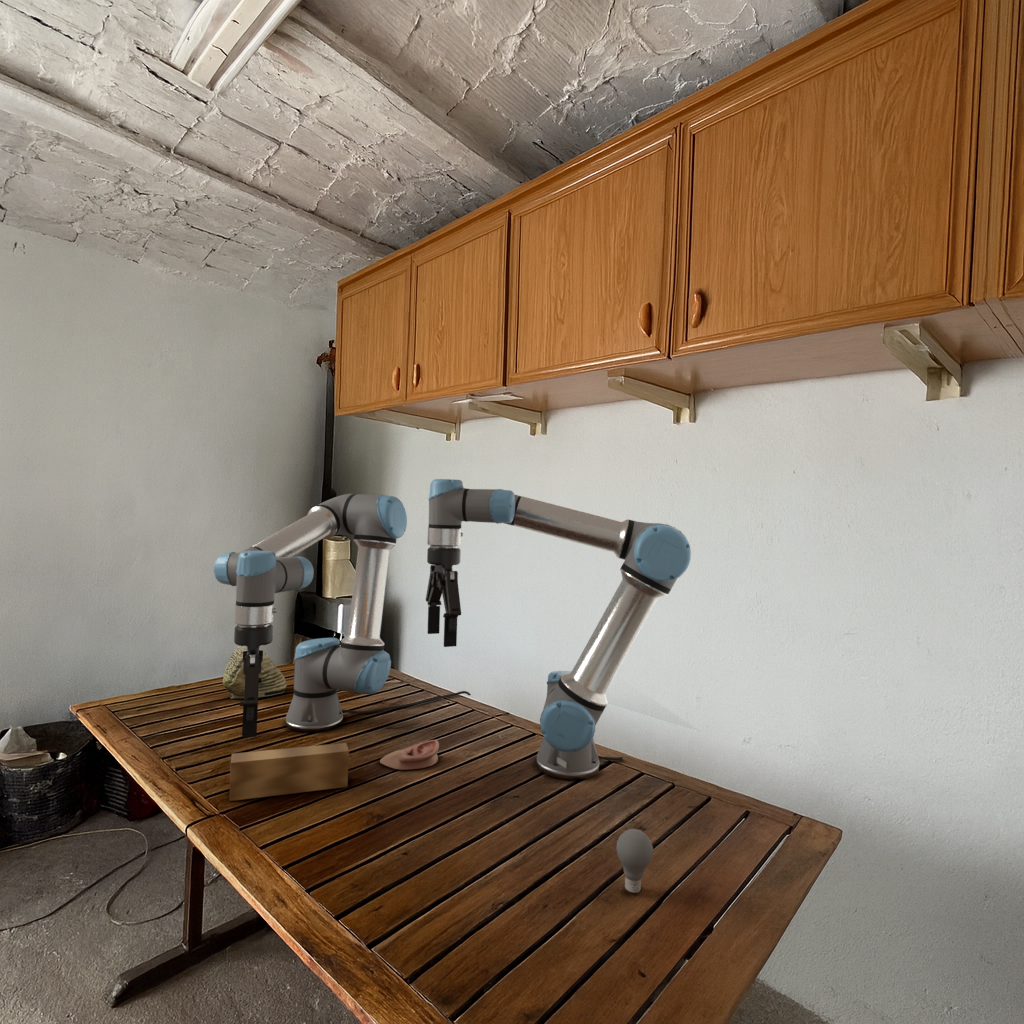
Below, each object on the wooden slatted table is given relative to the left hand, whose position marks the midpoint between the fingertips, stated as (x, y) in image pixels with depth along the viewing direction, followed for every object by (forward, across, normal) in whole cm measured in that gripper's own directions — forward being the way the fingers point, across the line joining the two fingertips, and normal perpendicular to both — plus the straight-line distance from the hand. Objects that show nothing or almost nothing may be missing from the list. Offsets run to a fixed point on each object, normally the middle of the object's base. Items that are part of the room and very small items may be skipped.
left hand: (250, 725), depth 133 cm
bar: (+15, 0, -8) cm, 17 cm away
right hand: (-17, -3, -40) cm, 44 cm away
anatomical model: (+14, +8, -36) cm, 40 cm away
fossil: (+14, +69, 0) cm, 71 cm away
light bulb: (+15, -54, -61) cm, 82 cm away
